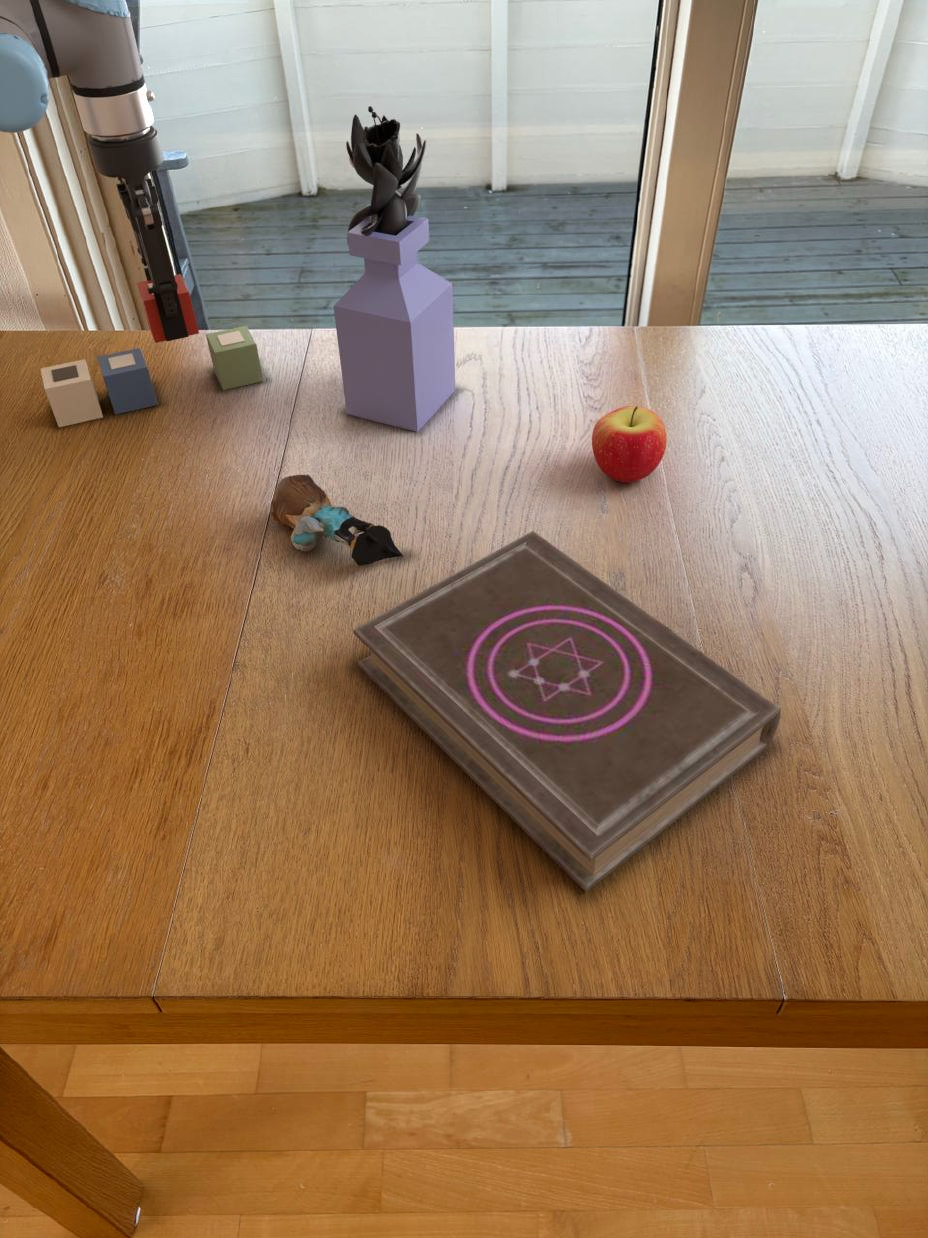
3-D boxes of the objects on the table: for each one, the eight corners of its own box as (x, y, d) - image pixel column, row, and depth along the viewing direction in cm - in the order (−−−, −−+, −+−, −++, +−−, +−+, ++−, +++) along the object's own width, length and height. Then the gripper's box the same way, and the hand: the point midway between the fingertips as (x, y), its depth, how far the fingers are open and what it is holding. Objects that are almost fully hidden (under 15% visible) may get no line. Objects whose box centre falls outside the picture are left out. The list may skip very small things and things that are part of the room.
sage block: (222, 390, 125) (214, 351, 121) (214, 371, 129) (205, 333, 125) (263, 381, 127) (256, 342, 123) (253, 362, 130) (246, 324, 126)
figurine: (309, 499, 108) (301, 454, 104) (405, 557, 100) (401, 512, 96) (257, 530, 104) (247, 485, 100) (353, 594, 96) (347, 548, 92)
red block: (155, 343, 118) (143, 300, 114) (147, 323, 121) (136, 281, 117) (199, 333, 119) (188, 290, 115) (190, 314, 123) (180, 272, 119)
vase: (389, 361, 130) (365, 76, 105) (465, 379, 126) (458, 87, 101) (335, 414, 121) (294, 114, 96) (415, 434, 117) (394, 128, 92)
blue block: (115, 414, 122) (102, 375, 118) (109, 394, 125) (96, 355, 121) (158, 405, 123) (147, 366, 119) (151, 384, 127) (140, 346, 123)
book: (358, 666, 89) (352, 629, 86) (535, 565, 99) (536, 527, 95) (586, 893, 72) (591, 857, 68) (772, 743, 82) (785, 705, 78)
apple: (594, 497, 107) (601, 421, 100) (584, 454, 113) (590, 379, 106) (667, 494, 107) (679, 418, 100) (653, 451, 113) (664, 376, 106)
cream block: (58, 427, 120) (44, 388, 116) (54, 406, 123) (39, 367, 120) (103, 417, 121) (90, 378, 117) (97, 396, 125) (84, 358, 121)
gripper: (170, 150, 99) (217, 353, 115) (141, 101, 111) (188, 291, 127) (96, 162, 97) (155, 367, 113) (75, 111, 109) (131, 302, 125)
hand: (172, 326), depth 120 cm, fingers closed on red block, 5 cm apart
